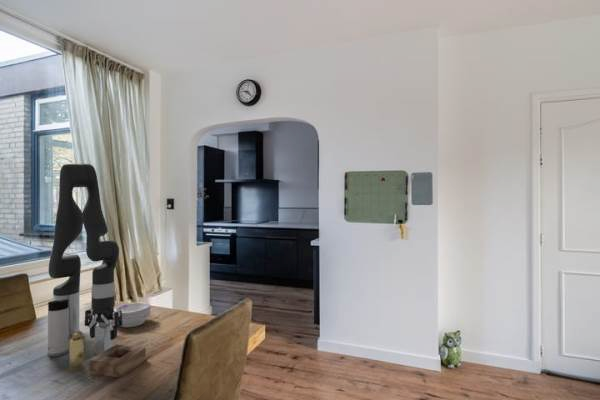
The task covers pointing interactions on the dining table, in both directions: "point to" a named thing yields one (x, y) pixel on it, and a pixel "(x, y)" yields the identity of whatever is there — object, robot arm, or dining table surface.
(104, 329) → the square bit
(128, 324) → the white patterned bowl
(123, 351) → the socket block
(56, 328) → the travel mug
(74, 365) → the round bit
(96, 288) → the robot arm
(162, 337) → the dining table surface
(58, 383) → the dining table surface
